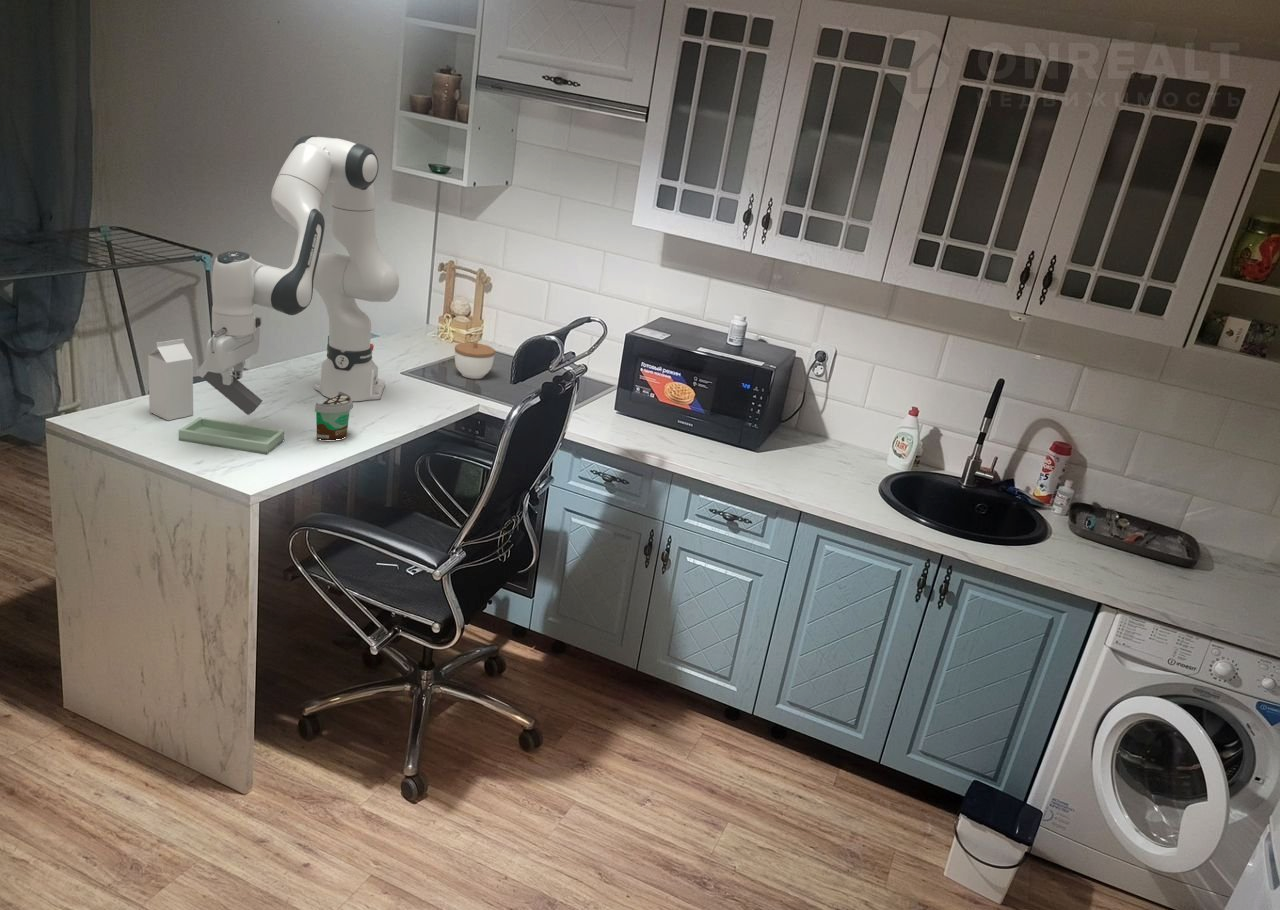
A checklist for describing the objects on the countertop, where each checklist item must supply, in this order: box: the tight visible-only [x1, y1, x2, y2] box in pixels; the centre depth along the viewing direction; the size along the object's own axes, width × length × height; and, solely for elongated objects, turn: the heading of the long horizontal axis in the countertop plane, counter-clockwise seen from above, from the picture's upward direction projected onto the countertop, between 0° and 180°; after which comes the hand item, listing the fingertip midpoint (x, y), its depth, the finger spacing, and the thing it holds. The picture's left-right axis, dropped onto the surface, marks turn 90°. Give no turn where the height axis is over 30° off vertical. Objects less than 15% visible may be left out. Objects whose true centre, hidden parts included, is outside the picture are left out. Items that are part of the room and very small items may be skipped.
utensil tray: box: [178, 416, 286, 455], centre depth 228 cm, size 10×21×2 cm, turn 87°
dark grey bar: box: [195, 360, 263, 416], centre depth 224 cm, size 15×4×4 cm
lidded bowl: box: [454, 341, 496, 380], centre depth 305 cm, size 13×13×11 cm
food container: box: [314, 392, 354, 440], centre depth 239 cm, size 12×6×10 cm, turn 169°
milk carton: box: [147, 338, 194, 421], centre depth 235 cm, size 7×7×19 cm
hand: (232, 381), depth 223 cm, fingers closed on dark grey bar, 3 cm apart
